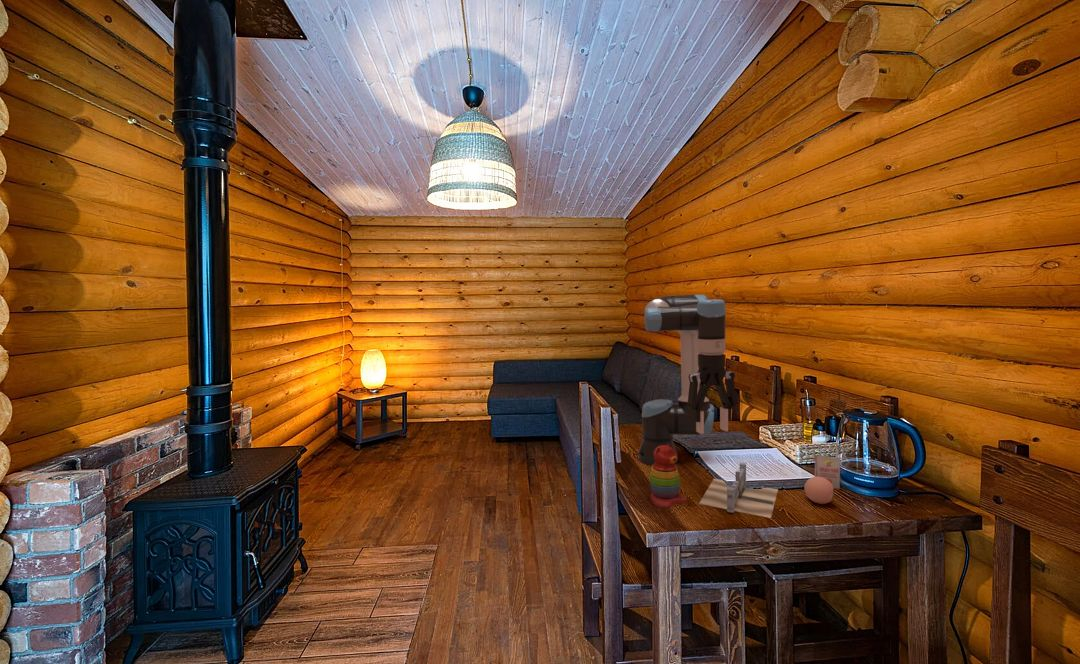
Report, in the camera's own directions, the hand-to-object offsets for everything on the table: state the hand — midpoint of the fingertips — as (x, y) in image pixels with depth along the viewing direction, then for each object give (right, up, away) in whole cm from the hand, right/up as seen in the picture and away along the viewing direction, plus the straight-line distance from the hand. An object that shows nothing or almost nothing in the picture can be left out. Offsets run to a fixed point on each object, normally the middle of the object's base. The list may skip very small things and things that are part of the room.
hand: (712, 431), depth 135 cm
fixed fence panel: (+15, -23, +16) cm, 32 cm away
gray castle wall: (+9, -23, +6) cm, 26 cm away
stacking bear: (-10, -25, +12) cm, 30 cm away
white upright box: (+45, -22, +19) cm, 54 cm away
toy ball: (+35, -24, +7) cm, 43 cm away
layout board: (+12, -24, +12) cm, 29 cm away
